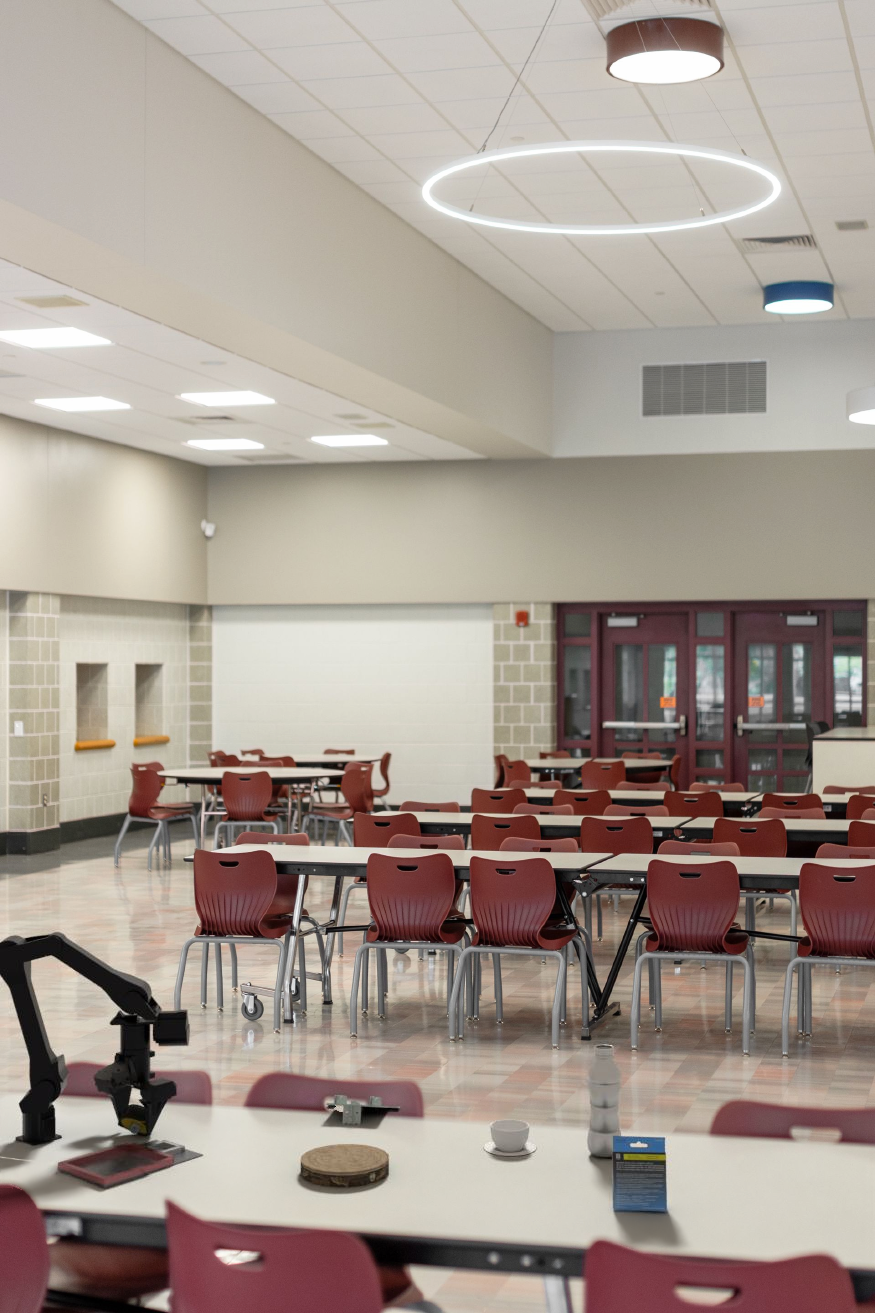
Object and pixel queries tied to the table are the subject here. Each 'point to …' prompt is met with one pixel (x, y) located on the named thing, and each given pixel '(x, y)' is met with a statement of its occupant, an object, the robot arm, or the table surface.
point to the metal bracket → (355, 1108)
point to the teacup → (509, 1138)
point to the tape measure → (134, 1119)
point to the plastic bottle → (603, 1101)
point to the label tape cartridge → (639, 1174)
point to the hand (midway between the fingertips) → (135, 1128)
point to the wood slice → (344, 1166)
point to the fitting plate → (125, 1162)
